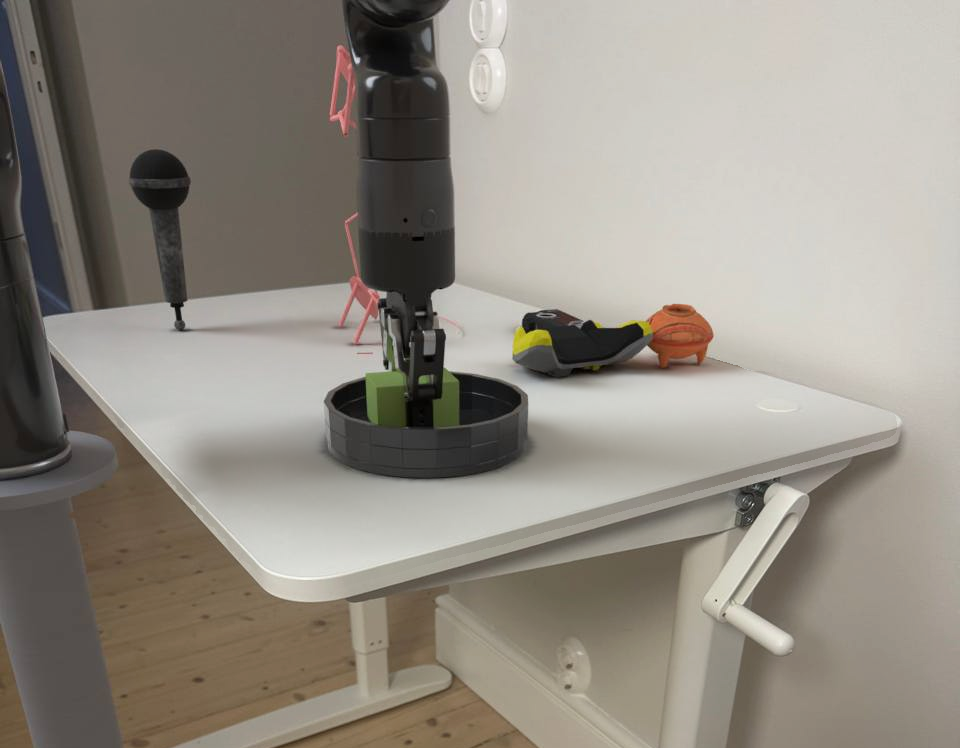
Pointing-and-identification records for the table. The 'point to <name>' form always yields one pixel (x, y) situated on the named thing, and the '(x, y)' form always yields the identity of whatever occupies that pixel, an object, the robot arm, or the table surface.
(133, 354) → the table surface
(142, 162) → the microphone
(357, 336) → the figurine
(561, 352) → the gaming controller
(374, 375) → the sponge
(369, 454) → the pan
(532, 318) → the camera
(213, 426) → the table surface
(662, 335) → the pot
